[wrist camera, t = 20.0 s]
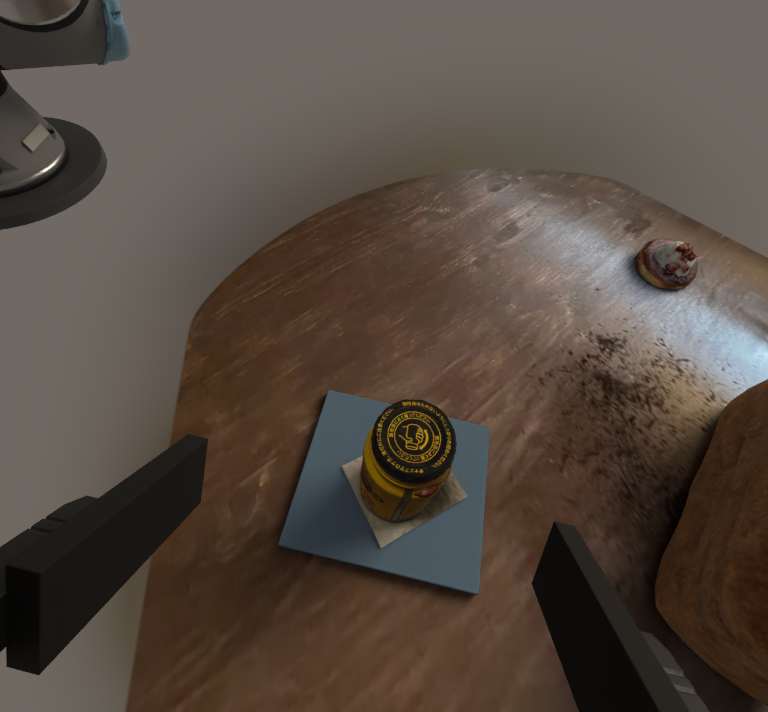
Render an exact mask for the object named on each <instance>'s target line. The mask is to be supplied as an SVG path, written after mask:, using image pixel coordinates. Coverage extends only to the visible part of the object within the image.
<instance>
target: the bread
mask: <svg viewBox="0 0 768 712" xmlns="http://www.w3.org/2000/svg"><path fill="white" fill-rule="evenodd" d="M655 600H656V608H657V609H658V611H659V612H660V614H661V615H662V617H663V618H664V620H665V621H666V623H667V624H668V625H669V627H670V628H671V629H672V630H673V631H674V632H675V633H676V634H677V635H678V636H679V637H680V638H681V639H682V640H683V641H684V642H685V644H686V645H687V646H688V647H689V648H691V649H692V650H693V651H694V652H695V653H696V654H697V655H698V656H699V657H700V658H701V659H703V660H704V661H705V662H706V663H707V664H708V665H709V666H710V667H712V668H713V669H714V670H715V671H717V672H718V673H719V674H721V675H722V676H723V677H725V678H726V679H727V680H729V681H730V682H731V683H733V684H734V685H735V686H737V687H738V688H740V689H741V690H743V691H744V692H746V693H747V694H749V695H750V696H752V697H753V698H754V699H756V700H758V701H760V702H762V703H764V704H767V705H768V379H767V380H765V381H763V382H761V383H759V384H757V385H755V386H753V387H751V388H749V389H748V390H746V391H745V392H743V393H742V394H740V395H739V396H738V397H736V398H735V399H733V400H732V401H731V402H730V403H729V404H728V405H727V406H726V407H725V408H724V410H723V412H722V414H721V415H720V418H719V420H718V423H717V426H716V429H715V432H714V435H713V438H712V440H711V443H710V445H709V448H708V450H707V452H706V455H705V457H704V459H703V462H702V464H701V467H700V468H699V470H698V472H697V474H696V476H695V478H694V480H693V482H692V485H691V487H690V491H689V494H688V498H687V501H686V505H685V508H684V510H683V513H682V516H681V518H680V520H679V523H678V525H677V527H676V530H675V532H674V534H673V536H672V538H671V540H670V542H669V544H668V546H667V548H666V550H665V552H664V554H663V556H662V560H661V563H660V566H659V569H658V574H657V579H656V584H655Z"/></svg>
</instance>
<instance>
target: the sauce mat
mask: <svg viewBox="0 0 768 712" xmlns="http://www.w3.org/2000/svg"><path fill="white" fill-rule="evenodd" d="M391 405H392V404H388V403H383V402H379V401H375V400H370V399H366V398H362V397H357V396H353V395H349V394H345V393H340V392H336V391H332V390H328V393H327V396H326V399H325V402H324V405H323V408H322V411H321V414H320V417H319V421H318V424H317V427H316V430H315V433H314V436H313V439H312V442H311V445H310V448H309V451H308V454H307V457H306V460H305V463H304V466H303V469H302V473H301V476H300V479H299V482H298V485H297V488H296V491H295V494H294V497H293V500H292V503H291V506H290V509H289V512H288V515H287V518H286V522H285V525H284V528H283V531H282V534H281V537H280V540H279V543H278V545H279V546H282V547H286V548H290V549H294V550H298V551H302V552H306V553H310V554H314V555H318V556H322V557H326V558H330V559H334V560H338V561H342V562H346V563H350V564H354V565H358V566H362V567H366V568H370V569H374V570H378V571H382V572H386V573H390V574H394V575H398V576H402V577H406V578H410V579H414V580H419V581H423V582H427V583H431V584H435V585H439V586H443V587H447V588H451V589H455V590H459V591H463V592H467V593H471V594H475V595H478V594H479V583H480V568H481V553H482V538H483V523H484V508H485V493H486V478H487V463H488V448H489V433H490V427H486V426H482V425H478V424H474V423H469V422H465V421H461V420H456V419H452V418H448V419H449V421H450V422H451V424H452V426H453V428H454V430H455V436H456V442H457V446H456V454H455V455H454V460H453V462H452V469H451V471H452V473H453V474H454V476H455V477H456V479H457V480H458V482H459V484H460V485H461V487H462V488H463V489H464V491H465V493H466V494H467V497H466V498H464V499H462V500H461V501H459V502H457V503H456V504H454V505H452V506H451V507H449V508H447V509H446V510H444V511H442V512H441V513H439V514H437V515H435V516H434V517H432V518H431V519H429V520H427V521H426V522H424V523H422V524H421V525H419V526H417V527H416V528H414V529H412V530H411V531H409V532H407V533H405V534H404V535H402V536H401V537H399V538H397V539H395V540H394V541H392V542H390V543H389V544H387V545H385V546H384V547H382V548H381V547H380V545H379V543H378V540H377V538H376V536H375V534H374V532H373V530H372V528H371V526H370V524H369V522H368V520H367V518H366V516H365V514H364V512H363V510H362V508H361V506H360V504H359V502H358V500H357V497H356V495H355V493H354V491H353V489H352V487H351V485H350V483H349V481H348V479H347V476H346V474H345V472H344V470H343V468H342V466H343V465H345V464H347V463H349V462H351V461H353V460H355V459H357V458H359V457H361V456H363V449H364V445H365V441H366V439H367V436H368V434H369V432H370V430H371V428H372V427H373V426H374V424H375V422H376V420H377V418H378V416H379V415H381V414H382V412H383V411H384V410H385V409H386V408H387V407H389V406H391Z"/></svg>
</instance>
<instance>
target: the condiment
mask: <svg viewBox="0 0 768 712" xmlns="http://www.w3.org/2000/svg"><path fill="white" fill-rule="evenodd" d="M456 446H457V442H456V436H455V430H454V428H453V426H452V424H451V422H450V421H449V419H448V417H447V416H446V415H445V414H444V413H443V412H442V411H441V410H440V409H439V408H438V407H436V406H434V405H432V404H430V403H428V402H426V401H423V400H407V399H406V400H402V401H399V402H397V403H394V404H392V405H391V406H389V407H387V408H386V409H385V410H384V411H383V412H382V414H381V415H379V416H378V418H377V420H376V422H375V424H374V426H373V427H372V428H371V430H370V432H369V434H368V436H367V439H366V441H365V445H364V449H363V456H361V457H359V458H357V459H355V460H353V461H351V462H349V463H347V464H345V465H343V466H342V468H343V470H344V472H345V474H346V476H347V479H348V481H349V483H350V485H351V487H352V489H353V491H354V493H355V495H356V497H357V500H358V502H359V504H360V506H361V508H362V510H363V512H364V514H365V516H366V518H367V520H368V522H369V524H370V526H371V528H372V530H373V532H374V534H375V536H376V538H377V540H378V543H379V545H380V547H381V548H382V547H384V546H385V545H387V544H389V543H390V542H392V541H394V540H395V539H397V538H399V537H401V536H402V535H404V534H405V533H407V532H409V531H411V530H412V529H414V528H416V527H417V526H419V525H421V524H422V523H424V522H426V521H427V520H429V519H431V518H432V517H434V516H435V515H437V514H439V513H441V512H442V511H444V510H446V509H447V508H449V507H451V506H452V505H454V504H456V503H457V502H459V501H461V500H462V499H464V498H466V497H467V494H466V493H465V491H464V489H463V488H462V487H461V485H460V484H459V482H458V480H457V479H456V477H455V476H454V474H453V473H452V471H451V469H452V462H453V460H454V455H455V454H456Z"/></svg>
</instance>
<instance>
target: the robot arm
mask: <svg viewBox="0 0 768 712" xmlns="http://www.w3.org/2000/svg"><path fill="white" fill-rule="evenodd" d="M129 54H130V42H129V38H128V33H127V29H126V26H125V23H124V20H123V17H122V14H121V10H120V7H119V3H118V0H0V70H11V69H24V68H39V67H53V66H66V65H81V64H95V63H96V64H98V65H104V64H107V63H108V62H111V61H121V60H124V59H126V58H127V57H128V56H129ZM68 160H69V150H68V147H67V146H66V144H65V142H64V141H63V139H62V137H61V136H60V134H59V133H58V132H57V131H56V130H55V129H54V128H53V127H52V126H51V125H50V124H49V123H48V122H47V121H46V120H45V119H44V118H43V117H42V116H41V115H40V114H39V113H38V112H37V111H36V110H34V108H32V107H31V106H30V105H29V104H28V103H27V102H26V101H25V100H24V99H23V98H22V97H21V96H20V95H19V94H18V93H17V92H15V91H14V89H13V88H12V87H11V86H10V85H9V83H8V82H7V80H6V79H5V77H4V76H3V74H2V73H1V71H0V198H4V197H9V196H13V195H17V194H21V193H24V192H27V191H30V190H32V189H35V188H37V187H39V186H41V185H43V184H45V183H47V182H48V181H50V180H51V179H53V178H54V177H55V176H57V175H58V174H59V173H60V172H61V171H62V170H63V169H64V167H65V166H66V164H67V162H68ZM207 443H208V439H207V438H203V437H198V436H194V435H190V434H188V435H187V436H185V437H184V438H182V439H181V440H180V441H178V442H177V443H175V444H174V445H173V446H171V447H170V448H168V449H167V450H166V451H164V452H163V453H161V454H160V455H159V456H157V457H156V458H154V459H153V460H152V461H150V462H149V463H147V464H146V465H144V466H143V467H142V468H140V469H139V470H137V471H136V472H135V473H133V474H132V475H130V476H129V477H128V478H126V479H125V480H123V481H122V482H121V483H119V484H118V485H117V486H115V487H114V488H112V489H111V490H109V491H108V492H107V493H105V494H104V495H103V496H101V497H100V498H94V497H90V496H85V497H82V498H80V499H77V500H75V501H72V502H70V503H67V504H65V505H63V506H62V507H60V508H59V509H57V510H56V511H54V512H53V513H51V514H49V515H48V516H47V517H46V519H42V520H40V521H39V522H37V523H36V524H34V525H33V526H32V527H31V529H27V530H25V531H24V532H22V533H21V534H19V535H18V536H16V537H15V538H13V539H12V540H10V541H9V542H7V543H6V544H4V545H3V546H1V547H0V652H1V651H2V650H3V649H4V648H5V647H6V649H7V650H6V651H7V652H6V654H7V667H10V668H14V669H17V670H21V671H25V672H29V673H32V674H36V675H40V673H41V672H42V671H43V670H44V669H45V668H46V667H47V666H48V665H49V664H50V663H51V662H52V661H53V660H54V659H55V657H56V656H57V655H58V654H59V653H60V652H61V651H62V650H63V649H64V648H65V647H66V646H67V645H68V644H69V642H70V641H71V640H72V639H73V638H74V637H75V636H76V635H77V634H78V633H79V632H80V631H81V629H83V628H84V626H85V625H86V624H87V623H88V622H89V621H90V620H91V619H92V618H93V617H94V616H95V615H96V614H97V613H98V612H99V610H100V609H101V608H102V607H103V606H104V605H105V604H106V603H107V602H108V601H109V600H110V599H111V598H112V597H113V595H114V594H115V593H116V592H117V591H118V590H119V589H120V588H121V587H122V586H123V585H124V584H125V583H126V582H127V580H128V579H129V578H130V577H131V576H132V575H133V574H134V573H135V572H136V571H137V570H138V569H139V568H140V566H142V565H143V563H144V562H145V561H146V560H147V559H148V558H149V557H150V556H151V555H152V554H153V553H154V552H155V551H156V550H157V548H158V547H159V546H160V545H161V544H162V543H163V542H164V541H165V540H166V539H167V538H168V537H169V536H170V535H171V534H172V532H173V531H174V530H175V529H176V528H177V527H178V526H179V525H180V524H181V523H182V522H183V521H184V520H185V519H186V517H187V516H188V515H189V514H190V513H191V512H192V511H193V510H194V509H195V508H196V507H197V506H198V505H199V504H200V503H201V494H202V486H203V477H204V469H205V460H206V452H207ZM532 586H533V588H534V591H535V594H536V596H537V599H538V602H539V605H540V607H541V610H542V613H543V615H544V618H545V621H546V623H547V626H548V629H549V632H550V634H551V637H552V640H553V642H554V645H555V648H556V650H557V653H558V656H559V659H560V661H561V664H562V667H563V669H564V672H565V675H566V677H567V680H568V683H569V686H570V688H571V691H572V694H573V696H574V699H575V702H576V705H577V707H578V710H579V712H710V711H709V710H708V708H707V707H706V705H705V704H704V702H703V701H702V699H701V698H700V696H698V695H697V694H696V690H695V689H694V687H693V686H692V684H691V683H690V681H689V680H688V678H685V676H684V672H683V671H682V669H681V668H680V666H679V665H678V663H677V662H676V660H675V659H674V657H673V656H672V654H671V653H670V652H669V651H668V650H667V649H666V648H665V647H664V646H663V645H662V644H661V643H660V642H659V641H658V640H657V639H656V638H655V637H654V636H653V635H652V634H651V633H647V632H643V631H640V630H639V628H638V627H637V625H636V624H635V622H634V620H633V619H632V617H631V616H630V614H629V612H628V611H627V609H626V608H625V606H624V604H623V603H622V601H621V600H620V598H619V596H618V595H617V593H616V592H615V590H614V588H613V587H612V585H611V584H610V582H609V580H608V579H607V577H606V575H605V574H604V572H603V571H602V569H601V567H600V566H599V564H598V563H597V561H596V559H595V558H594V556H593V555H592V553H591V551H590V550H589V548H588V547H587V545H586V543H585V542H584V540H583V539H582V537H581V535H580V534H579V532H578V531H577V529H576V527H575V526H571V525H567V524H563V523H558V522H554V523H553V526H552V529H551V531H550V534H549V537H548V540H547V543H546V545H545V548H544V551H543V554H542V556H541V559H540V562H539V565H538V568H537V570H536V573H535V576H534V579H533V581H532Z"/></svg>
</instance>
